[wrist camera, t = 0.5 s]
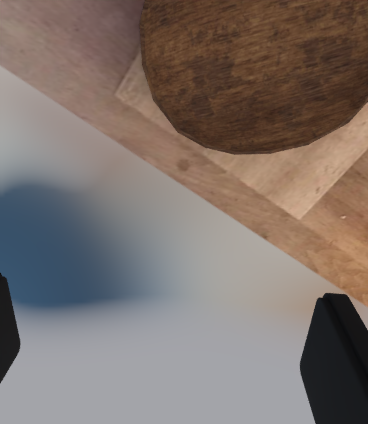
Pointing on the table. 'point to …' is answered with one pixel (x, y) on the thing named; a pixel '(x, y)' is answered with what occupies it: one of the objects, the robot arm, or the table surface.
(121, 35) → the table surface
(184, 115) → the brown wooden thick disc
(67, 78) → the table surface
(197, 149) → the table surface
